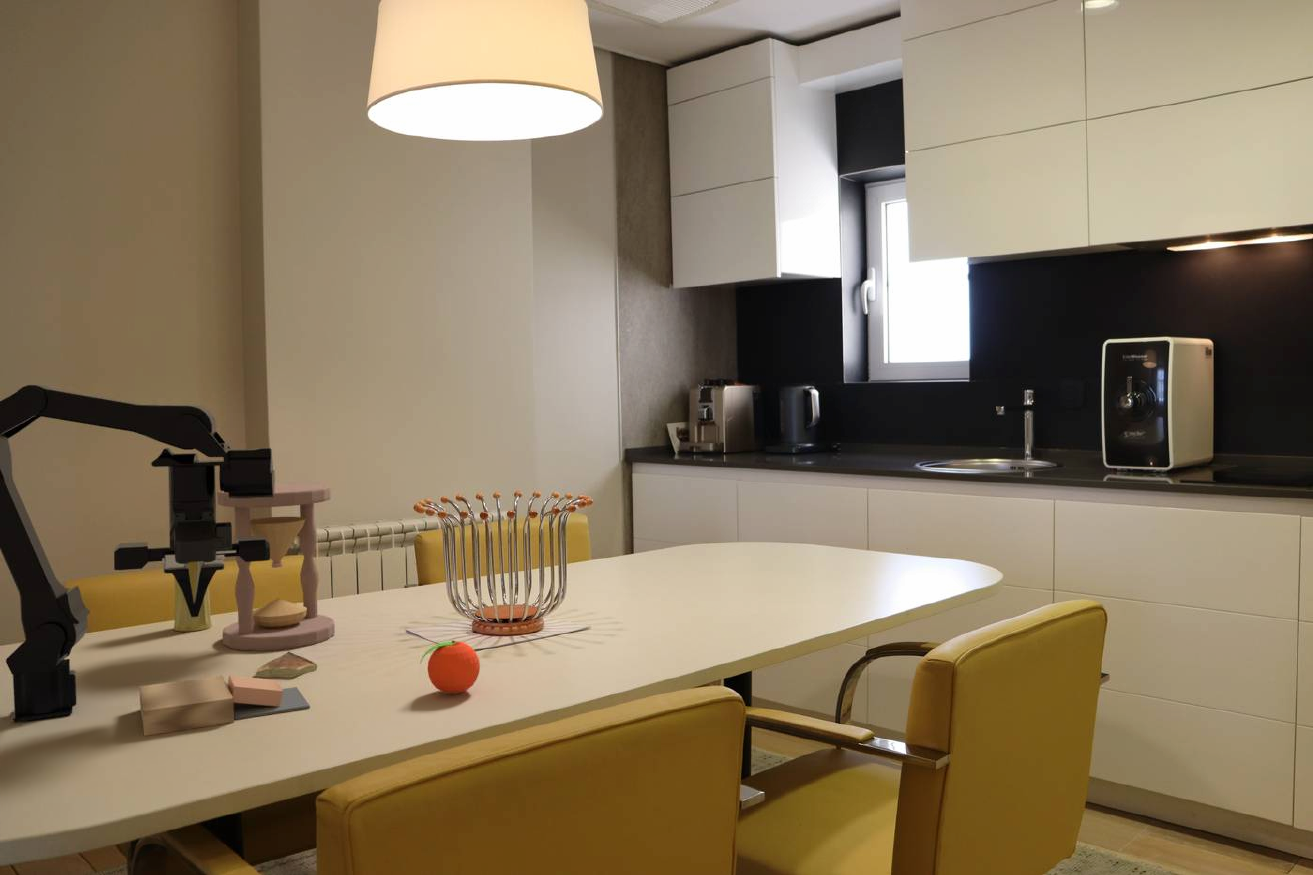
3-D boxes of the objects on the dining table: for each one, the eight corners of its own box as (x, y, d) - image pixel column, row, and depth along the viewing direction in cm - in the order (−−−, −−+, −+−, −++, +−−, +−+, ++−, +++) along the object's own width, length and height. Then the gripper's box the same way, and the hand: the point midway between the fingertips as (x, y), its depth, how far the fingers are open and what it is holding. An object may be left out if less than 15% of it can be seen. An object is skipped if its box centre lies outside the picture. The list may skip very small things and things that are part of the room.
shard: (288, 661, 162) (288, 649, 162) (336, 661, 161) (335, 650, 161) (253, 680, 151) (253, 668, 151) (304, 681, 151) (303, 668, 150)
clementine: (426, 704, 137) (424, 650, 136) (415, 690, 143) (414, 638, 143) (486, 696, 140) (485, 643, 140) (473, 683, 146) (472, 632, 146)
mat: (235, 719, 132) (235, 717, 132) (226, 699, 141) (226, 696, 141) (309, 708, 136) (309, 705, 136) (296, 689, 145) (296, 686, 145)
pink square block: (231, 702, 133) (234, 686, 133) (225, 690, 138) (229, 675, 138) (279, 706, 136) (283, 691, 136) (272, 695, 141) (276, 680, 141)
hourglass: (254, 657, 163) (248, 495, 162) (203, 640, 175) (198, 489, 173) (355, 636, 176) (350, 486, 175) (301, 621, 188) (297, 481, 186)
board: (144, 735, 126) (143, 710, 126) (140, 709, 137) (139, 686, 136) (234, 722, 131) (233, 698, 131) (223, 697, 141) (222, 675, 141)
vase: (167, 628, 183) (164, 547, 183) (202, 622, 188) (199, 542, 187) (182, 633, 179) (179, 550, 179) (218, 627, 184) (215, 546, 183)
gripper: (112, 509, 129) (114, 636, 129) (273, 502, 137) (275, 621, 137) (113, 501, 139) (116, 618, 139) (264, 495, 147) (266, 606, 147)
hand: (194, 616), depth 141 cm, fingers closed
